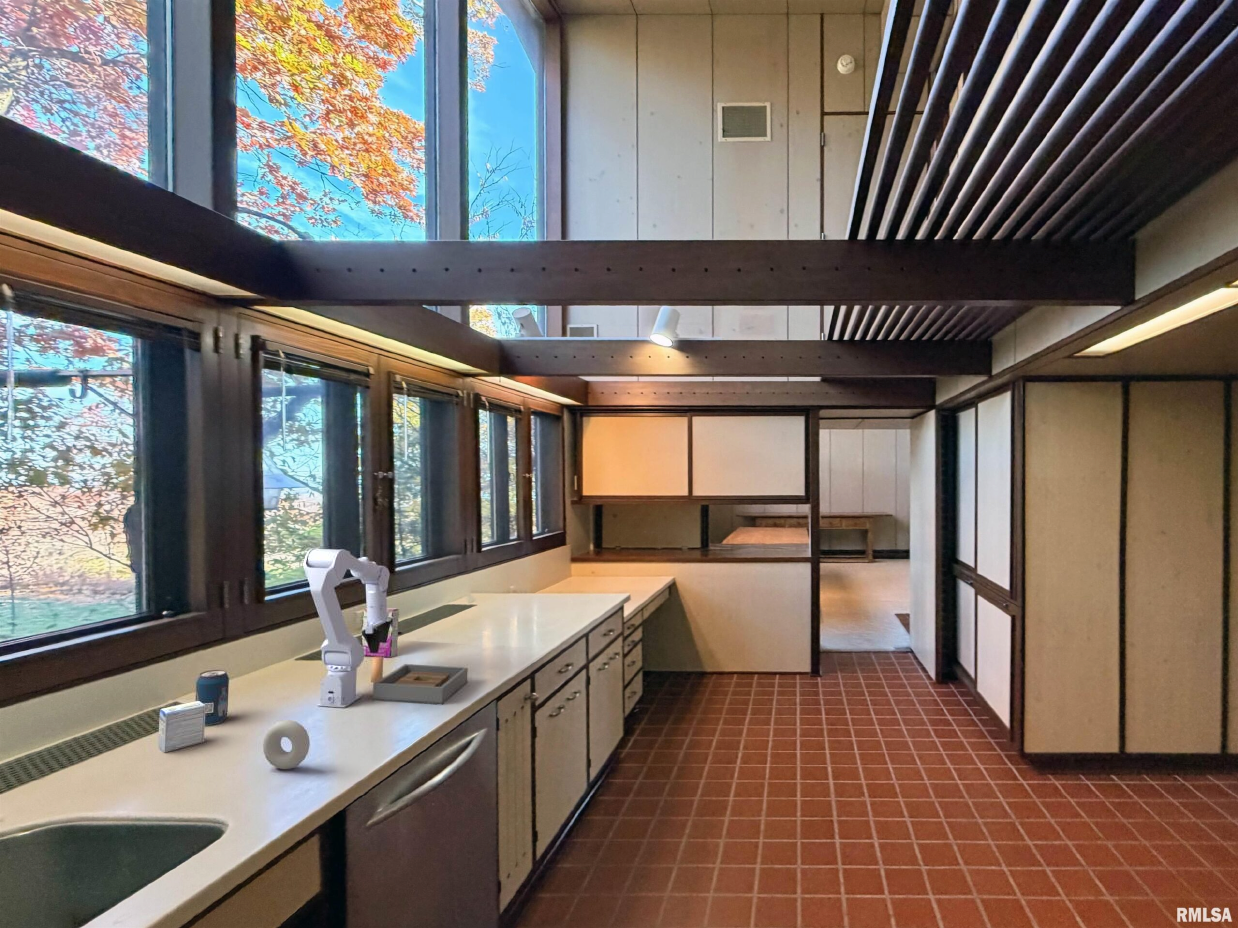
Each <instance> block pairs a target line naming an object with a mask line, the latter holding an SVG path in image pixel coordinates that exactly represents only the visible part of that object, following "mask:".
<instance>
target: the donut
mask: <svg viewBox="0 0 1238 928" xmlns="http://www.w3.org/2000/svg"><path fill="white" fill-rule="evenodd" d="M283 738H287V739H288V740H289V742H291V743H290V744H291V750H290V751H286V750H284V748H283V747H282V746H283V745H282V739H283ZM310 746H311V744H310V736H309V733H308V731H307V730H306V729H305V727H304V726H303V725H302V724H301V723H299V722H298V721H294V720H290V719H285V720H280V721H278V722H276V723H274V724H273V725H271V727H270V728H269V729H267V731H266V733H265V735H264V738H263V741H262V750H263V752H262V753H263V754H264V757H265V759H266V760H267V762H268V763H269V764H270V765H272V766H273V767H274V768H276V769H280V770H290V769H293V768H295V767H297V766H299V765H301V763H302V762H304V761H305V759H306V758H307V755H308V754H309V751H310Z"/></svg>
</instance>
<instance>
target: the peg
mask: <svg viewBox="0 0 1238 928" xmlns="http://www.w3.org/2000/svg"><path fill="white" fill-rule="evenodd" d="M383 666H384V657H372V658H371V678H370V679H371V680H370V682H371V683H372V682H373V684H374V683H375V682H377V681H379V680H380V679H382V678H383V674H384V672H383V669H384V667H383Z"/></svg>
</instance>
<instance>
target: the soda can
mask: <svg viewBox="0 0 1238 928" xmlns="http://www.w3.org/2000/svg"><path fill="white" fill-rule="evenodd" d="M195 683H196V684H195V701H200V702H201V703H203V704H204V705H205V706H206V710H205V725H207V726H212V725H213V724H214V725H218V724H220V723H222V722H223V721H224V720H225V719H226V717H227V715H228V709H229V686H230V684H229V683H230V677H229V675H228V673H227V670H225V669H212V670H205V671H202V672H200V673H199V677H198V678H197V680H196V682H195ZM195 701H194V702H195Z"/></svg>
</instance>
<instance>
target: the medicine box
mask: <svg viewBox="0 0 1238 928" xmlns="http://www.w3.org/2000/svg"><path fill="white" fill-rule="evenodd" d="M205 710H206V706H205V705H204V704H203V703H201V702H200V701H192V702H187V703H181V704H176V705H173V706H169V707H164V708H161V709H160V710H159V719H158V720H159V721H158V722H159V723H158V742H157V743H158V745H157V746H158V748H159V749H160V750H161V751H162V752H163V753H167V752H171V751H174V750H175V751H176V750H178V749H183V748H186V747H189V746H193V745H197V744H201V743H204V742H205V729H206V727H205Z"/></svg>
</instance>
